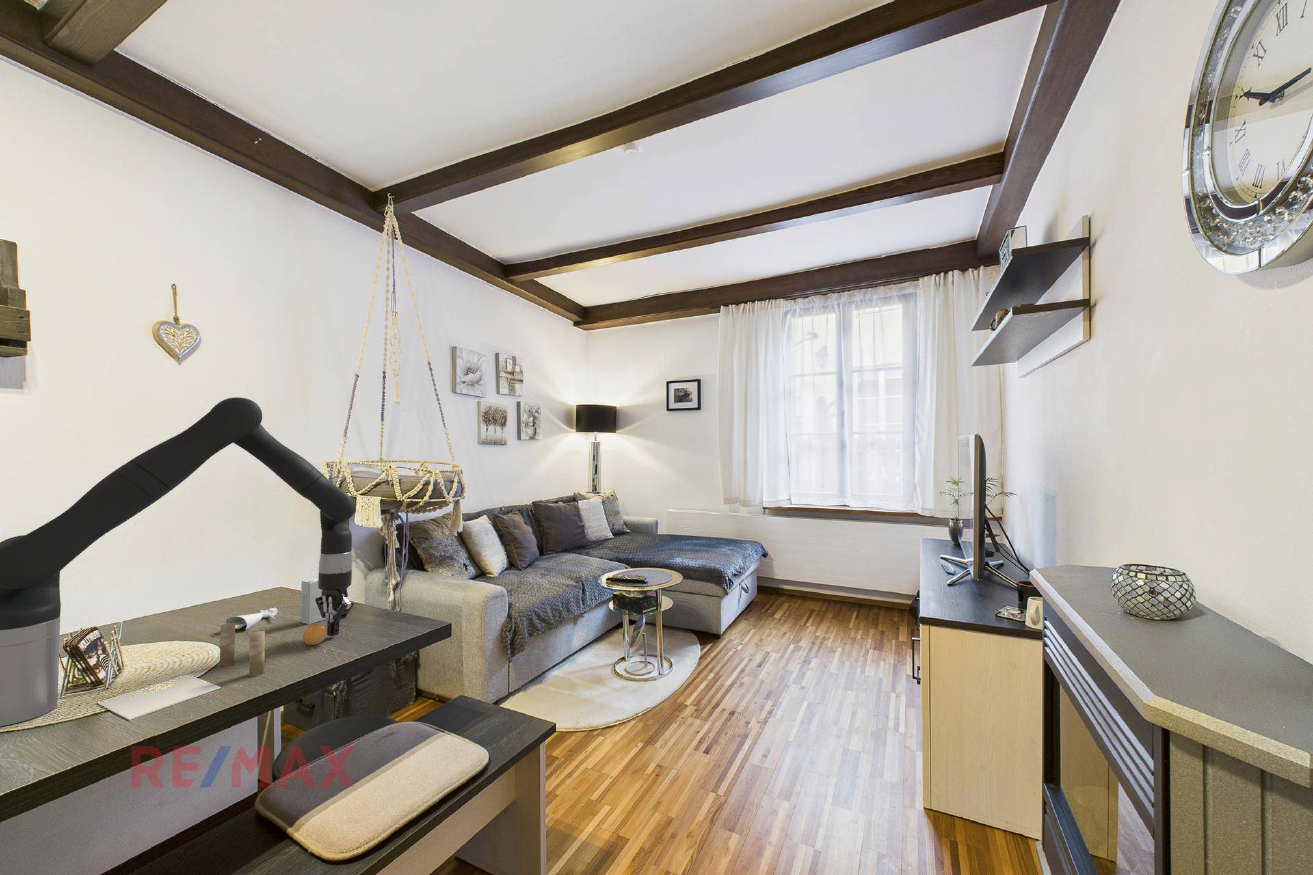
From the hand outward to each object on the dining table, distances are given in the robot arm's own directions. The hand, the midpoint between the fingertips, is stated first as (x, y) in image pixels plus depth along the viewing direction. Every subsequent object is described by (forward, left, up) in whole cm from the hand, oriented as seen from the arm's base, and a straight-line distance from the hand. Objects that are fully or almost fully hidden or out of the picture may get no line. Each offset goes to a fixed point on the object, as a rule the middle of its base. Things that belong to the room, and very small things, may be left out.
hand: (333, 635), depth 134 cm
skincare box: (+6, +18, -1) cm, 19 cm away
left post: (-21, +6, -1) cm, 22 cm away
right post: (-21, -6, -1) cm, 22 cm away
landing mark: (-35, 0, -1) cm, 35 cm away
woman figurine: (-3, +31, -1) cm, 32 cm away
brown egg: (-5, 0, +2) cm, 5 cm away
